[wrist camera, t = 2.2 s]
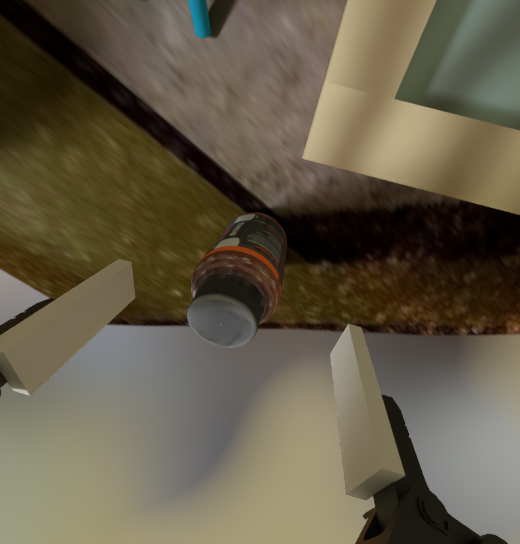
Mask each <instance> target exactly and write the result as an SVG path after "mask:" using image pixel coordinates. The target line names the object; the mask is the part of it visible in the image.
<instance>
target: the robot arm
mask: <svg viewBox="0 0 520 544" xmlns="http://www.w3.org/2000/svg"><path fill="white" fill-rule="evenodd" d="M134 298H135V291H134V281H133V272H132V263H131V262H129V261H125V260H122V259H118V260H117V261H115V262H113V263H112V264H110V265H109V266H107V267H106V268H104V269H103V270H101V271H99V272H98V273H96V274H95V275H93V276H92V277H90V278H89V279H87V280H85V281H84V282H82V283H81V284H79V285H78V286H76V287H75V288H73V289H71V290H70V291H68V292H67V293H65V294H64V295H62V296H61V297H59V298H57V299H53V298H50V299H47V300H44V301H42V302H39V303H37V304H35V305H33V306H32V307H30V308H28V309H27V310H25V311H24V312H23V313H20V314H18V315H17V316H15V317H14V318H13V319H10V320H9V321H7V322H5V323H4V324H2V325H0V387H2V386H3V385H4V384H5V383H7V382H8V384H9V385H10V387H11V388H12V390H14V391H17V392H20V393H23V394H26V395H32V394H33V393H34V392H35V391H36V390H37V389H38V388H39V387H40V386H41V385H42V384H43V383H44V382H45V381H47V380H48V379H49V378H50V377H51V376H52V375H53V374H54V373H55V372H56V371H57V370H58V369H59V368H61V367H62V366H63V365H64V364H65V363H66V362H67V361H68V360H69V359H70V358H71V357H72V356H73V355H74V354H76V353H77V352H78V351H79V350H80V349H81V348H82V347H83V346H84V345H85V344H86V343H87V342H88V341H89V340H90V339H92V338H93V337H94V336H95V335H96V334H97V333H98V332H99V331H100V330H101V329H102V328H103V327H104V326H106V325H107V324H108V323H109V322H110V321H111V320H112V319H113V318H114V317H115V316H116V315H117V314H118V313H119V312H121V311H122V310H123V309H124V308H125V307H126V306H127V305H128V304H129V303H130V302H131V301H132V300H133V299H134ZM330 358H331V366H332V375H333V384H334V392H335V401H336V410H337V419H338V426H339V436H340V444H341V454H342V462H343V471H344V480H345V489H346V494H347V495H350V496H353V497H357V498H360V499H363V500H367V499H369V498H370V497H372V496H373V497H374V503H375V508H373V509H371V510H370V511H368V512H366V513H365V514H364V515H363V517H364V518H365V519H367V518H368V520H367V522H366V524H365V526H364V528H363V530H362V532H361V533H360V535H359V537H358V540H357V542H356V543H355V544H508V543H507V542H505V541H504V540H503V539H501V538H499V537H498V536H496V535H492V534H486V535H482V536H479V535H478V534H476V533H475V532H474V531H472V530H470V529H469V528H468V527H466V526H465V525H463V524H462V523H461V522H459V521H458V520H456V519H455V518H453V517H452V516H451V515H450V514H448V512H447V511H446V509H445V507H444V505H443V504H442V503H441V501H440V500H439V499H438V498H437V496H436V495H434V494H433V493H432V492H431V491H430V490H429V488H428V486H427V484H426V481H425V478H424V476H423V473H422V470H421V467H420V464H419V461H418V458H417V456H416V453H415V450H414V447H413V444H412V441H411V439H410V438H409V433H408V430H407V427H406V426H405V421H404V419H403V416H402V413H401V410H400V409H399V407H398V406H397V404H396V403H395V401H394V400H393V398H392V397H388V396H385V395H382V394H381V392H380V389H379V385H378V382H377V379H376V375H375V372H374V368H373V365H372V362H371V359H370V355H369V352H368V348H367V345H366V341H365V338H364V335H363V331H362V328H361V327H357V326H354V325H350V324H348V325H347V327H346V329H345V330H344V332H343V334H342V335H341V337H340V339H339V340H338V342H337V344H336V345H335V347H334V349H333V350H332V352H331V354H330ZM0 395H1V390H0Z"/></svg>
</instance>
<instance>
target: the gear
mask: <svg viewBox="0 0 520 544" xmlns="http://www.w3.org/2000/svg"><path fill="white" fill-rule="evenodd" d="M188 2H189V7H190V11H191V16H192V20H193V25H194V29H195V34H196V35H197V36H198V37H200V38H206V37H208V36H209V35H210V34H211V27H210V21H209V15H208V9H207V3H206V0H188Z"/></svg>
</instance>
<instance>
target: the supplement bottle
mask: <svg viewBox="0 0 520 544" xmlns="http://www.w3.org/2000/svg"><path fill="white" fill-rule="evenodd" d="M286 252H287V238H286V234H285V231H284V229H283V228H282V226H281V225H280V224H279V223H278V222H277V221H276V220H275V219H274V218H272V217H270V216H268V215H266V214H263V213H258V212H251V213H246V214H243V215H241V216H239V217H237V218H236V219H235V220H234V221H233V222H231V223H230V225H229V226H228V227H227V228H226V229H225V231H224V232H223V233H222V234H221V236H220V237H219V239H218V240H217V241H216V242H215V244H214V245H213V246H212V247H211V248H210V250H209V251H208V252H207V253H206V255H205V256H204V257H203V258H202V260H201V261H200V262H199V264H198V265H197V267H196V269H195V270H194V273H193V275H192V281H191V290H192V295H193V297H194V298H193V300H192V302H191V304H190V305H189V308H188V312H187V317H188V322H189V324H190V326H191V328H192V329H193V330H194V332H195V333H196V334H197V335H198V336H199V337H201V338H202V339H204V340H205V341H207V342H209V343H211V344H214V345H217V346H221V347H227V348H230V347H234V348H235V347H239V346H243V345H245V344H247V343H249V342H250V341H251V340H252V339H253V338H254V336H255V335H256V332H257V328H258V325H259V324H262V323H263V322H265V321H266V320H267V319H269V318H270V317H271V316H272V314H273V313H274V312H275V310H276V308H277V306H278V303H279V300H280V293H281V288H282V280H283V273H284V266H285V260H286Z"/></svg>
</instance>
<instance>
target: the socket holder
mask: <svg viewBox="0 0 520 544" xmlns="http://www.w3.org/2000/svg"><path fill="white" fill-rule="evenodd" d="M303 159H306V160H310V161H314V162H317V163H321V164H325V165H329V166H333V167H337V168H341V169H344V170H348V171H352V172H356V173H360V174H364V175H368V176H372V177H375V178H379V179H383V180H387V181H391V182H395V183H399V184H402V185H406V186H410V187H414V188H418V189H422V190H426V191H430V192H433V193H437V194H441V195H445V196H449V197H453V198H457V199H460V200H464V201H468V202H472V203H476V204H480V205H484V206H487V207H491V208H495V209H499V210H503V211H507V212H511V213H515V214H518V215H520V0H347V1H346V4H345V8H344V11H343V15H342V18H341V22H340V25H339V29H338V33H337V36H336V40H335V43H334V47H333V50H332V54H331V57H330V61H329V64H328V68H327V71H326V75H325V78H324V82H323V85H322V89H321V92H320V96H319V99H318V103H317V106H316V110H315V114H314V117H313V121H312V124H311V128H310V131H309V135H308V138H307V142H306V145H305V149H304V152H303Z"/></svg>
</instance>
